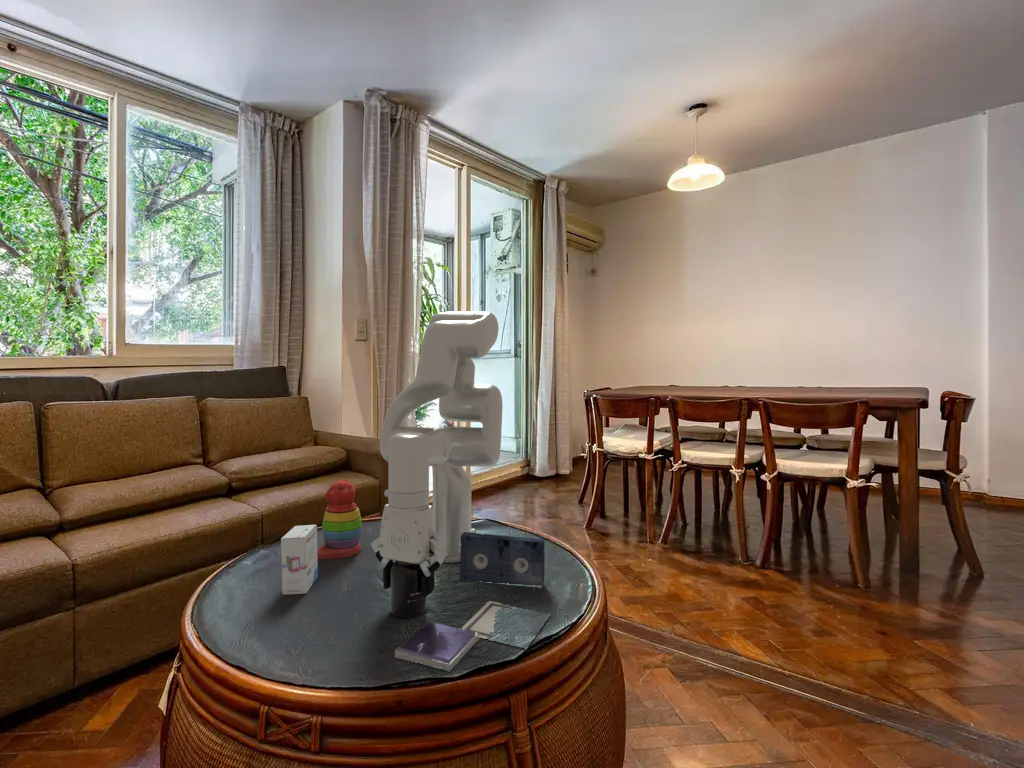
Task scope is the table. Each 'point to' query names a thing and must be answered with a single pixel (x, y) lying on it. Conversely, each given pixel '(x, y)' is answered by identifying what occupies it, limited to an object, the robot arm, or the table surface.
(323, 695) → the table surface
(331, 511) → the stacking bear
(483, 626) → the marked card
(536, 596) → the table surface
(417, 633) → the ink pad
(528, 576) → the vhs cassette tape
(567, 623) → the table surface
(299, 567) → the ink box
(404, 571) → the supplement bottle
